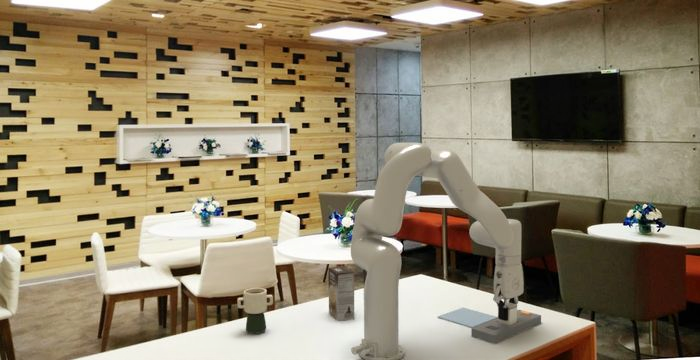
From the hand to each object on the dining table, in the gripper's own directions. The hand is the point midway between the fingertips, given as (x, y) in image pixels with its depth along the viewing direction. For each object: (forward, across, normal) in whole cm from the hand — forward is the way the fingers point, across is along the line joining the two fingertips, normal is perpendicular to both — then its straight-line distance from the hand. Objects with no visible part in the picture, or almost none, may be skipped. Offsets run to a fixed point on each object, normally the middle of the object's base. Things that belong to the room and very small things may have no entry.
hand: (507, 317), depth 171 cm
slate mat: (+4, 0, +15) cm, 15 cm away
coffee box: (+4, -29, +45) cm, 54 cm away
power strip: (+4, 0, 0) cm, 4 cm away
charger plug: (+4, 0, 0) cm, 4 cm away
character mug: (+4, -58, +52) cm, 78 cm away
